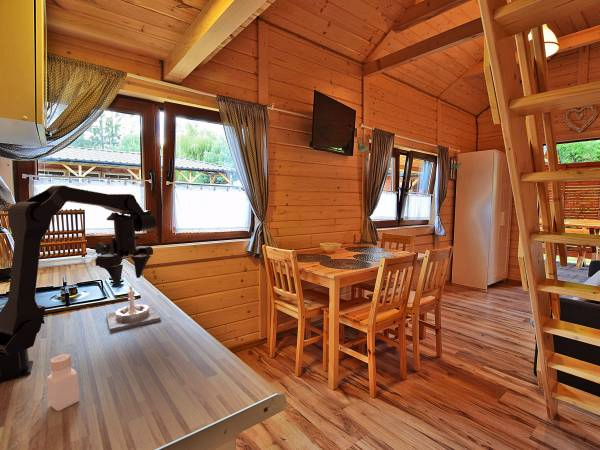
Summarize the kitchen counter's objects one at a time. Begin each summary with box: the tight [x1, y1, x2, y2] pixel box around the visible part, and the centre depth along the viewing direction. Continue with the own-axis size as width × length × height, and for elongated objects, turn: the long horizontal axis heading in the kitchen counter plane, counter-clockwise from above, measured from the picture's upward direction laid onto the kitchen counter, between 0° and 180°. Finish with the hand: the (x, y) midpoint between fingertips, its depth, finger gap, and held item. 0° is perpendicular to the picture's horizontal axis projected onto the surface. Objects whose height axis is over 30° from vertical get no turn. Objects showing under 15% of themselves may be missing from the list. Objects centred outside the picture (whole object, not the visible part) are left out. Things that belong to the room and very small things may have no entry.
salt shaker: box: [46, 353, 80, 412], centre depth 61 cm, size 4×4×10 cm
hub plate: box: [105, 303, 162, 333], centre depth 102 cm, size 14×14×3 cm
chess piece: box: [125, 285, 140, 314], centre depth 101 cm, size 5×5×10 cm
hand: (128, 281), depth 100 cm, fingers open, 9 cm apart
